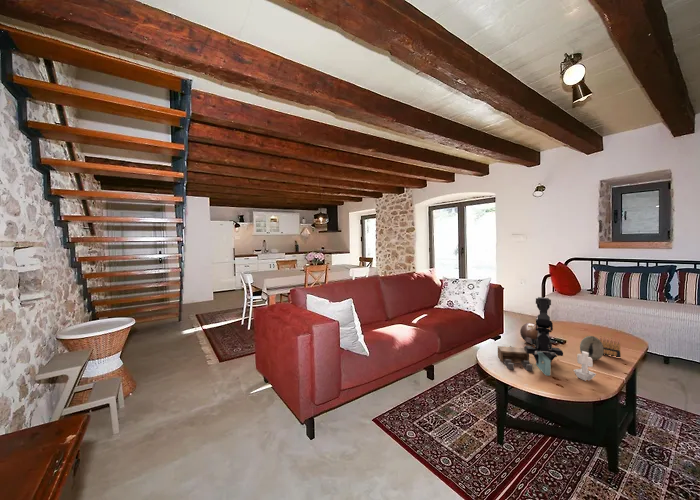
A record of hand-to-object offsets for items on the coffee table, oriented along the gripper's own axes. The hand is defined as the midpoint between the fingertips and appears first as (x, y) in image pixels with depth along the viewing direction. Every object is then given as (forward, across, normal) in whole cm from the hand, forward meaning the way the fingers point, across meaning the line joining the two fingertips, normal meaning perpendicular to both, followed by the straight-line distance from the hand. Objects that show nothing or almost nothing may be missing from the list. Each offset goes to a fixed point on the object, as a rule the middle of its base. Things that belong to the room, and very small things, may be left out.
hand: (542, 364), depth 173 cm
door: (+3, 0, 0) cm, 3 cm away
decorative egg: (+3, -35, -21) cm, 41 cm away
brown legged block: (+3, +13, -6) cm, 15 cm away
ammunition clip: (+3, -49, -29) cm, 57 cm away
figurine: (+3, -18, +7) cm, 20 cm away
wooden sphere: (+3, -9, -44) cm, 45 cm away
